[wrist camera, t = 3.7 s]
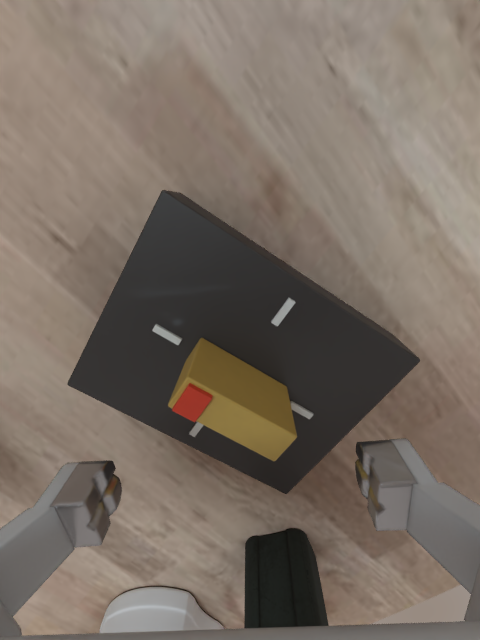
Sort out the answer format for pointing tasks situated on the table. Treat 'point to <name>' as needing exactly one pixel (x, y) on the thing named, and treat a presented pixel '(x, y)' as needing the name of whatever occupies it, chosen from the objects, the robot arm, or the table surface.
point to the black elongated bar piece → (282, 582)
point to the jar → (156, 612)
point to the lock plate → (234, 339)
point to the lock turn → (234, 400)
